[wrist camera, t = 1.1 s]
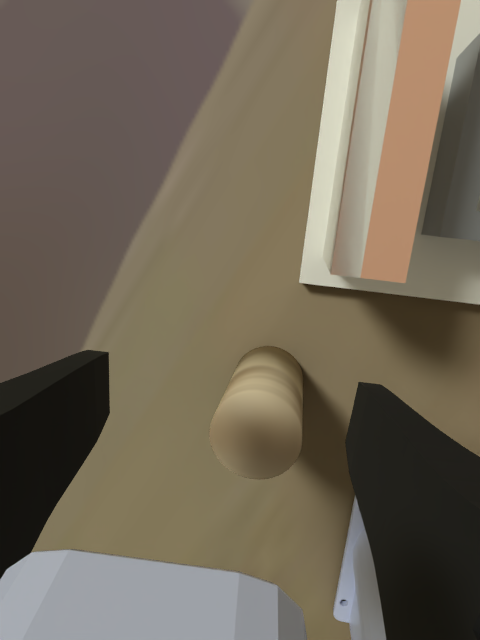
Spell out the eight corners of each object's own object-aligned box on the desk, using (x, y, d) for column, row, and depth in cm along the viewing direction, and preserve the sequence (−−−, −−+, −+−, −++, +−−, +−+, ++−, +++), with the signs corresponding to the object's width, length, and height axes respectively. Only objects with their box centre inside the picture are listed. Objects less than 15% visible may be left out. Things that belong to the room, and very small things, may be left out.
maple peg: (298, 415, 25) (295, 486, 18) (232, 404, 26) (205, 470, 19) (307, 351, 24) (308, 402, 17) (238, 341, 25) (213, 387, 18)
